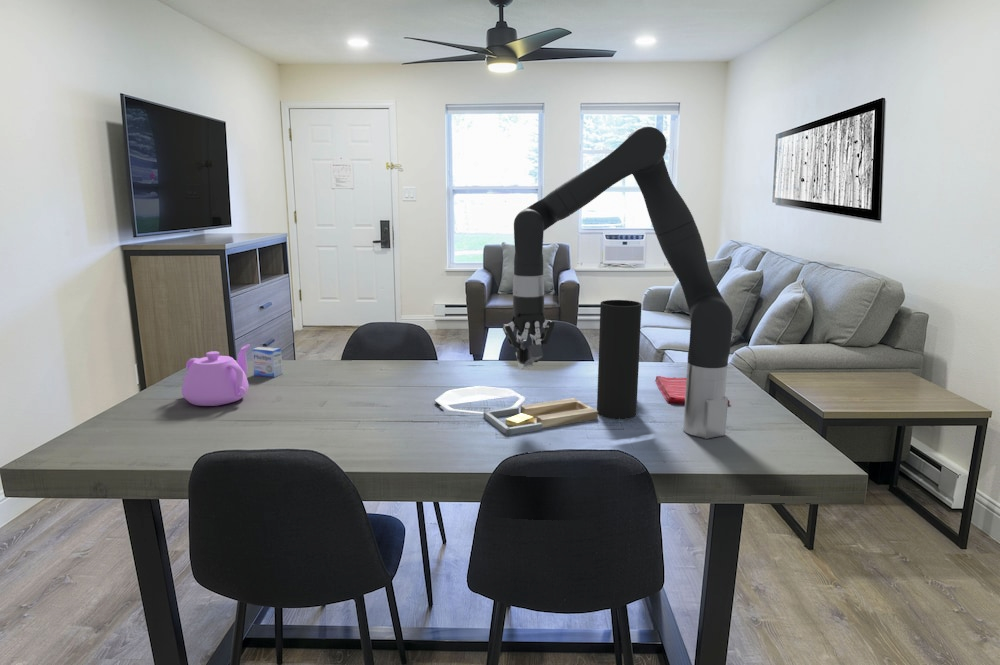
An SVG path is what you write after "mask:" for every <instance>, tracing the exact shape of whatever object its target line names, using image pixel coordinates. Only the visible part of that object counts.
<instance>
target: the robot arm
mask: <svg viewBox="0 0 1000 665" xmlns="http://www.w3.org/2000/svg"><path fill="white" fill-rule="evenodd" d="M666 151H667V140H666V137H665V134H664V133H663V132H662V131H661V130H660V129H659V128H656V127H653V126H648V125H647V126H641V127H638V128H636V129H635V130H633V131H632V132H630V134H628V136H627V138H626V139H625V140H624V141H623V142H622V143H621V144H620V145H618V146H617V147H616V148H615V149H614V150H613V151H611V152H609V154H608V155H606V156H605V157H604V158H602V159H600V160H599V161H598V162H596V163H595V164H593V165H592V166H590V167H589V168H586V169H585V170H583V171H581V172H580V173H578V174H576V175H575V176H574V177H571V178H570V179H568V180H567V181H565V182H564V183H562V184H560V185H559V186H557V187H556V188H554V190H552V191H550V192H549V193H548V194H546V195H545V196H544V197H543V198H542V199H540V200H538V201H536V202H534V203H533V204H530V205H529V206H527V207H526V208H524V209H523V210H521V211H519V213H517V214H516V216H515V218H514V221H513V237H514V238H513V240H514V242H513V243H514V258H513V275H514V276H513V281H512V282H513V283H512V311H513V317H512V318H511V321H510V322H509V323H507V324H504V323H503V324H502V326H501V328H502V330H503V332H504V333H503V334H504V335H505V338H506V340H507V342H508V344H509V346H510V347H513V348H515V349H516V352H517V357H516V361H517V360H518V361H519V363H521V364H525V348H526V347H525V346H526V341H527V340H528V336H529V337H530V338H531V339H530V340H531V345H538V344H541V347H543V345H547V344H548V342H549V339H550V337H551V334H552V332H553V329H554V326H555V321H552V320H550V319H546V317H545V314H544V312H545V280H544V255H543V248H544V232H545V231H546V230H547V229H549V228H550V227H552V226H553V225H555V224H556V223H557V222H559V221H563V220H565V219H566V218H568V217H570V216H571V215H573V214H574V213H576V212H577V211H579V210H581V209H582V208H584V207H586V206H587V205H588V204H589V203H591V202H593V201H594V200H595V199H596V198H597V197H599V196H600V195H601V194H603V193H604V192H605V191H607V190H609V188H611V187H612V186H614V185H615V184H617V183H618V182H620V181H622V180H624V179H625V178H627V177H630V175H632V176H633V178H634V180H635V182H636V183H637V186H638V187H639V189H640V192H641V194H642V197H643V200H644V203H645V206H646V211H647V212H648V213H647V214H648V217H649V220H650V221H651V226H652V227H653V230H654V234H655V236H656V238H657V241H658V244H659V246H660V248H661V251H662V253H663V255H664V257H665V259H666V261H667V263H668V264H669V266H670V268H671V270H672V271H673V273H674V275H675V276H676V278H677V280H678V281H679V284H680V286H681V289H682V292H683V295H684V298H685V302H686V305H687V309H688V313H689V318H690V328H689V329H690V332H689V344H688V352H687V364H686V367H687V368H686V377H685V378H686V393H685V404H684V411H683V424H682V425H683V426H682V427H683V431H684V432H685V433H686V434H688V435H691V436H694V437H698V438H703V439H706V440H707V439H712V438H716V437H722V436H726V434H727V432H726V431H727V430H726V429H727V418H728V406H729V405H728V400H729V398H728V397H727V396H726V390H727V378H728V365H729V364H728V363H729V357H730V352H731V347H732V346H731V345H732V337H733V336H732V334H733V322H734V321H733V312H732V310H731V308H730V306H729V305H728V304H727V302H726V300H725V299H724V297H723V296H722V294H721V293H720V291H719V289H718V287H717V285H716V283H715V281H714V279H713V276H712V274H711V272H710V269H709V265H708V260H707V254H706V251H705V250H706V249H705V247H704V244H703V240H702V237H701V234H700V231H699V228H698V226H697V224H696V221H695V218H694V216H693V214H692V212H691V209H689V207H688V205H687V203H686V202H685V200H684V199H683V197H682V196H681V194H680V193H679V191H678V190H677V188H676V186H674V184H673V182H672V179H671V176H670V174H669V171H668V168H667V165H666V162H665V158H664V157H665V155H666ZM514 328H515V329H516V336H515V334H514V330H515V329H514ZM541 328H542V331H541ZM539 360H540V359H538V360H537V361H535V362H534V363H539Z"/></svg>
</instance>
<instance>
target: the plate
mask: <svg viewBox="0 0 1000 665" xmlns="http://www.w3.org/2000/svg"><path fill="white" fill-rule="evenodd" d="M509 397H517V398H518V400H517V401H516V402H514V404H513V405H512V406H510V407H509V408H513V407H518V408H519V407H521V405H522V403H524V401H525V400H526V397H525V396H523V395H522V394H519V393H517V391H514V390H512V389H511V388H505V387H493V386H486V385H485V386H483V385H476V386H468V387H467V386H466V387H461V388H454V389H449V390H446V391H445V392H444V393H442V394H441V395H439V396H438V397H437V398H435V399H434V400H435V403H436V404H438V405H439V406H440V407H442V408H443V409H445V410H446V411H448V412H458V413H465V414H466V413H467V414H475V415H484V412H485V411H477V410H475V411H474V410H468V409H457V408H452V407H451V405H457V404H465V403H471V402H481V401H485V400H493V399H494V400H495V399H500V398H501V399H502V398H509ZM500 409H501V408H500ZM500 409H498V410H500ZM504 409H506V408H504Z"/></svg>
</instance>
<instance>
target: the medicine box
mask: <svg viewBox="0 0 1000 665" xmlns="http://www.w3.org/2000/svg"><path fill="white" fill-rule="evenodd" d="M251 352H252V366H253V367H252V368H253V371H252V372H253V375H254V376H256V377H266V378H267V377H268V378H277V377H279V376H280V375H283V362H282V361H283V360H282V358H283V357H282V349H281V348H279V347H269V346H268V347H266V346H258V347H255V348H253V349H252V350H251Z"/></svg>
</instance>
